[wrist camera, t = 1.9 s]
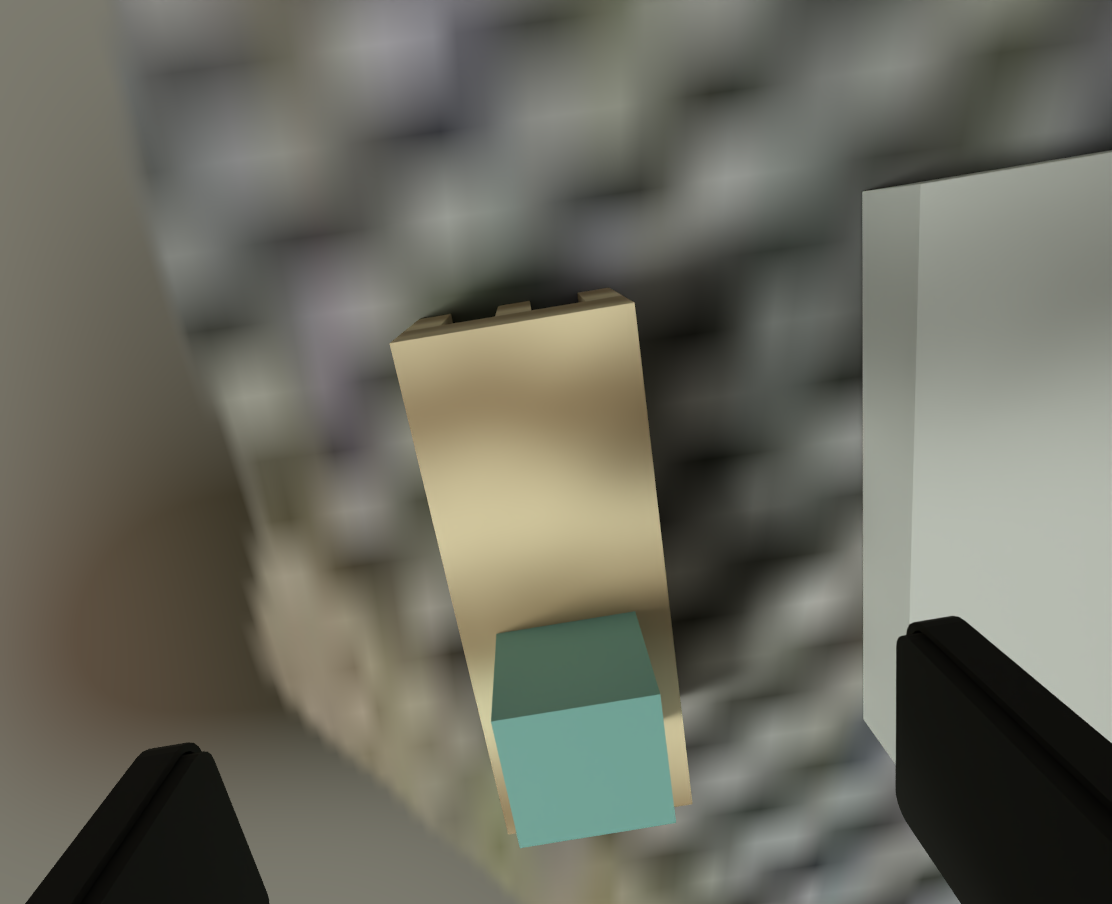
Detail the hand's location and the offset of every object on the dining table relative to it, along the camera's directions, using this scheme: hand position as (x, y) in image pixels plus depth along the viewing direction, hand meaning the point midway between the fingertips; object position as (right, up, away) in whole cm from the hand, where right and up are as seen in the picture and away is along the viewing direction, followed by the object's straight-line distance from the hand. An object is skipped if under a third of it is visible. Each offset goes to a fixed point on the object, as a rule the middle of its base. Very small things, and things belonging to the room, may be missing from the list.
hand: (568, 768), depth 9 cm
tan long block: (0, +1, +14) cm, 14 cm away
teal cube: (0, -2, +10) cm, 10 cm away
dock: (+16, +4, +14) cm, 21 cm away
